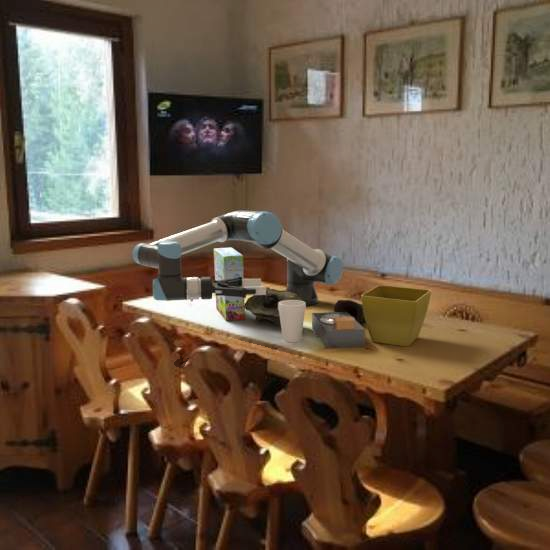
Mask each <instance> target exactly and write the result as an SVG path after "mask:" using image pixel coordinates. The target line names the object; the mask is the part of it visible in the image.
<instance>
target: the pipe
mask: <svg viewBox="0 0 550 550" xmlns="http://www.w3.org/2000/svg"><path fill="white" fill-rule="evenodd" d="M333 312H348V313H349V314H350V315H351V316H352V317H354V318H355V320H356V321H357V322H358V323H359V324H360V323H362V322H364V321H365V317H364V312H363V306H362V303H359V302H357V301H354V300H352V299H351V300H350V299H345V300H344V299H338V300H337V302H336V303H335V305H334V307H333ZM365 322H366V321H365Z"/></svg>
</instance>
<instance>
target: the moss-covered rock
mask: <svg viewBox="0 0 550 550" xmlns="http://www.w3.org/2000/svg"><path fill="white" fill-rule="evenodd" d="M285 290H286V289H285ZM285 290H280V289H279V290H278V289H275V288H270V287H269V286H268V287H267V286H266V295H251V296H249V298H247V299H246V301H245V311H248V312H250V313H251V314H252V315H254V316H255V320H256V321H261V320H267V321H271V322H274V323H275V324H277V325H279V326H281V322H280V315H279V310H278V302H280V301H284V300H300V301H303V300H302V298H301V297H300V296H297V295H296V293H295V292H294V291H293V292H291V291H287V290H286V291H285Z"/></svg>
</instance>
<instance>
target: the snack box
mask: <svg viewBox="0 0 550 550" xmlns="http://www.w3.org/2000/svg"><path fill="white" fill-rule="evenodd" d="M213 263H214V279H215V280H216V281H217V280H227V279H235V278H239V277H242V279H245V274H244V273H245V272H244V269H245V268H244V255H243V254H241V252H238V250H236V249H234V248H233V247H219V248H217V247H216V248H213ZM215 280H214V281H215ZM241 287H242V286H241ZM242 288H245V287H242ZM245 303H246V301H245V298H243V297H235V296H216V295H215V305H216V306H215V307H216V310H217V311H218V312H219V313H220V315H221V316H222V318H223V319H224V321H225V322H229V321H241V320H244V321H245V320H246V312H245V311H246V309H245Z"/></svg>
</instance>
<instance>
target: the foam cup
mask: <svg viewBox="0 0 550 550" xmlns="http://www.w3.org/2000/svg"><path fill="white" fill-rule="evenodd" d="M278 310H279V315H280V322H281V325H280V327H281V335H282V340H283V341H284V342H287V343H297V342H300V341H302V336H303V329H304V328H303V327H304V322H305V313H306V310H307V307H306V303H305V302H304V301H300V300H284V301H280V302H278Z"/></svg>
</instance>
